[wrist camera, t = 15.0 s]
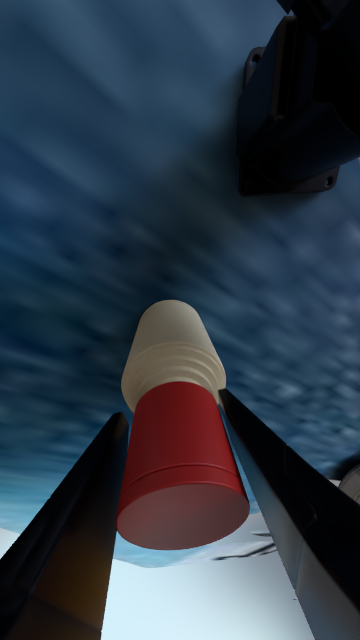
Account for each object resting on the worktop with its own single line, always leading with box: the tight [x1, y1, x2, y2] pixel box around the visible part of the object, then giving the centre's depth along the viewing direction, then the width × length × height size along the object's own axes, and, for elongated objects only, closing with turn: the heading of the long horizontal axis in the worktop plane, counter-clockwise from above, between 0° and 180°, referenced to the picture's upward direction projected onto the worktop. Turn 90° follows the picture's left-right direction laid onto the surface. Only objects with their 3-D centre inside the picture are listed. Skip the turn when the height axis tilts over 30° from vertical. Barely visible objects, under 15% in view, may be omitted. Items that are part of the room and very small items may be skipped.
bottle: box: [121, 300, 226, 413], centre depth 11 cm, size 6×6×11 cm
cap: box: [116, 381, 250, 550], centre depth 7 cm, size 4×4×4 cm
